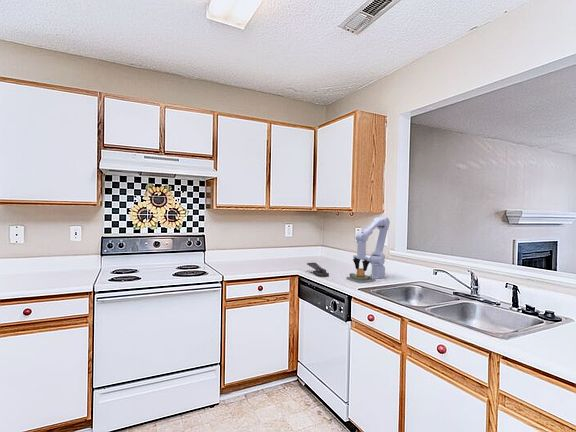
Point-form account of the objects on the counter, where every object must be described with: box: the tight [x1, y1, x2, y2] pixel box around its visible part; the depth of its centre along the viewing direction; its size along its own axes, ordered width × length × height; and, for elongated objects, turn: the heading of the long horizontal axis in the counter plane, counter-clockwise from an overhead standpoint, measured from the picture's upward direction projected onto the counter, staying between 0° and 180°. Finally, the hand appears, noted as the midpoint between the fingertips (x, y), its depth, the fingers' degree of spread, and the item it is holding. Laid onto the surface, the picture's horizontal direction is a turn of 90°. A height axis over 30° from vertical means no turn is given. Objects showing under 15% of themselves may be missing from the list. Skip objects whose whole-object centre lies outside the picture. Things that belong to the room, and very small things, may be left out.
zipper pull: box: [306, 262, 330, 278], centre depth 249 cm, size 9×7×25 cm
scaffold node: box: [346, 272, 377, 284], centre depth 231 cm, size 14×17×4 cm
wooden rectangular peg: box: [356, 267, 366, 277], centre depth 229 cm, size 4×3×8 cm, turn 119°
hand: (361, 269), depth 229 cm, fingers open, 7 cm apart
